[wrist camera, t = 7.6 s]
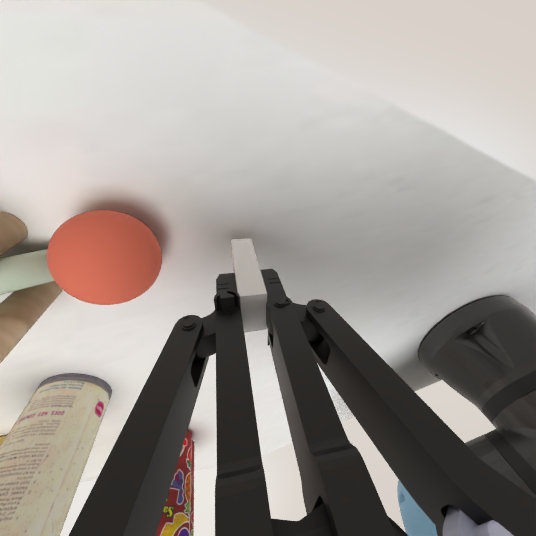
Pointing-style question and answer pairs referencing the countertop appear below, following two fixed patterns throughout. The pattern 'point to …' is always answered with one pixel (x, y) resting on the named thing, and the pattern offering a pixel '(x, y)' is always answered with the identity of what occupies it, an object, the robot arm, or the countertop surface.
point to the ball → (104, 257)
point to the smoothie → (180, 496)
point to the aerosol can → (49, 453)
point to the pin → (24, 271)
